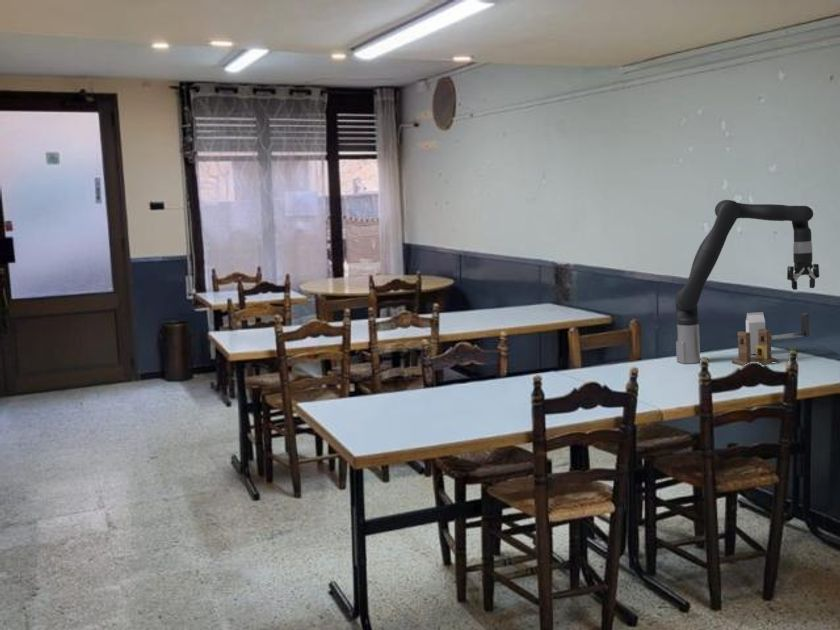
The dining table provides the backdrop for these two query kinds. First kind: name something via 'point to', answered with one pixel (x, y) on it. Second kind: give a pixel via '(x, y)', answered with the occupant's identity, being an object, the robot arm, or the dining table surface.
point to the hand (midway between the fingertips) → (803, 288)
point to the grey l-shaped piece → (803, 332)
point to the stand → (745, 348)
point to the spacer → (758, 351)
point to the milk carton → (754, 327)
